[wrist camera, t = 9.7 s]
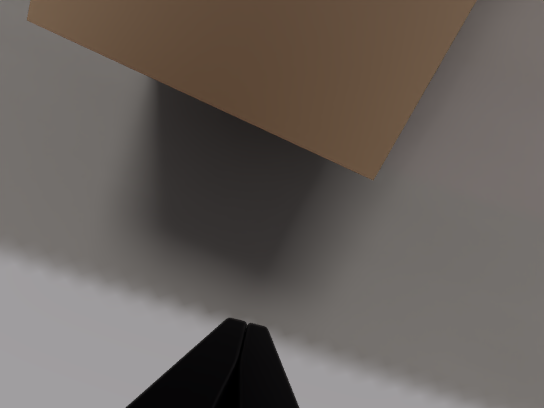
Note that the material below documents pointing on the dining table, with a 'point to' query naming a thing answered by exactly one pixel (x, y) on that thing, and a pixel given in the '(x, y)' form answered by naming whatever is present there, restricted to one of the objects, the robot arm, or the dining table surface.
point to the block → (280, 60)
